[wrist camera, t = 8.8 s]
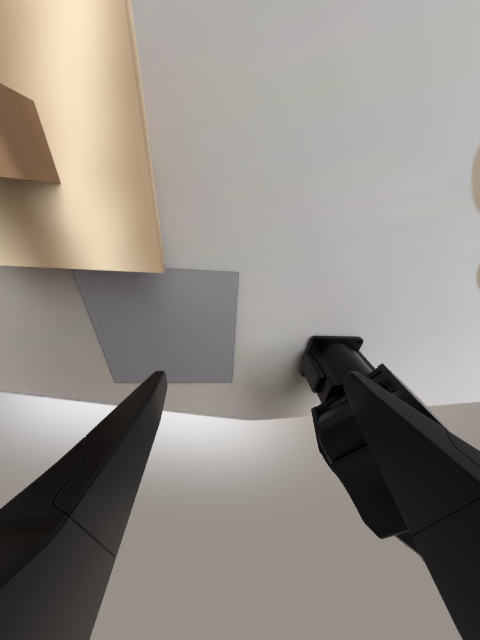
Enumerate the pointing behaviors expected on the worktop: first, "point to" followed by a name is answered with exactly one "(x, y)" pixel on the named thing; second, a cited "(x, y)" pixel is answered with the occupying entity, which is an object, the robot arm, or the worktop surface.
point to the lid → (74, 139)
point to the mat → (163, 322)
